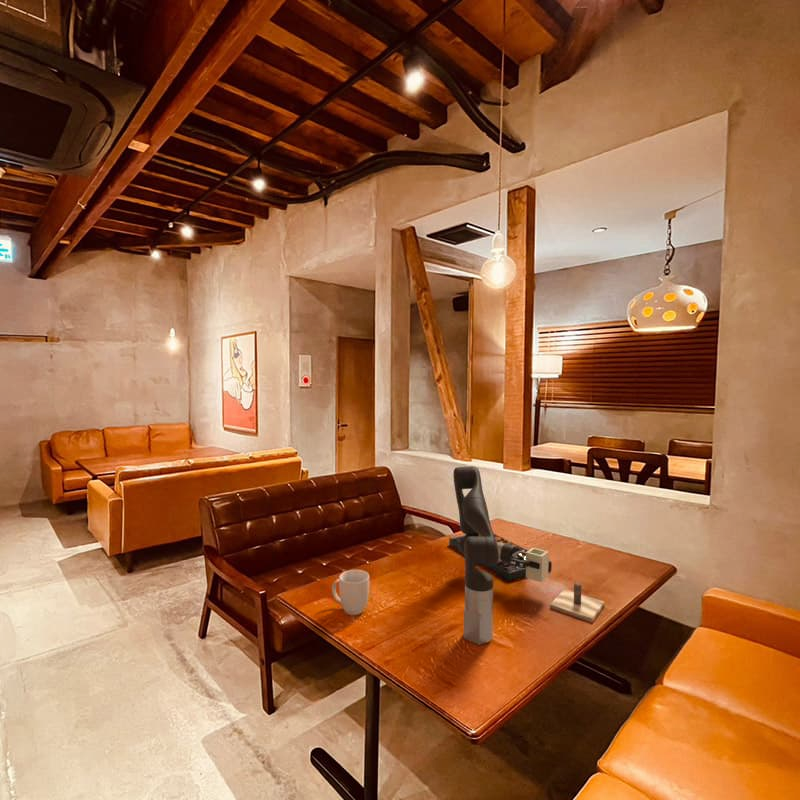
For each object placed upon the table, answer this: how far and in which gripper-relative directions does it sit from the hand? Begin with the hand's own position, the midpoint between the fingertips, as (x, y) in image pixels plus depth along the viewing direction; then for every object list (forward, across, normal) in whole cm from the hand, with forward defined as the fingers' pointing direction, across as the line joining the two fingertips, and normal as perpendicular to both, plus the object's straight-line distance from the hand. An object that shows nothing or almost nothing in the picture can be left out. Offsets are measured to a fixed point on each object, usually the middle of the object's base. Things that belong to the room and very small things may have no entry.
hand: (543, 563), depth 168 cm
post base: (+12, +2, +14) cm, 19 cm away
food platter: (-32, +24, +14) cm, 43 cm away
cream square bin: (-2, 0, +6) cm, 6 cm away
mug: (-51, -54, +14) cm, 75 cm away
